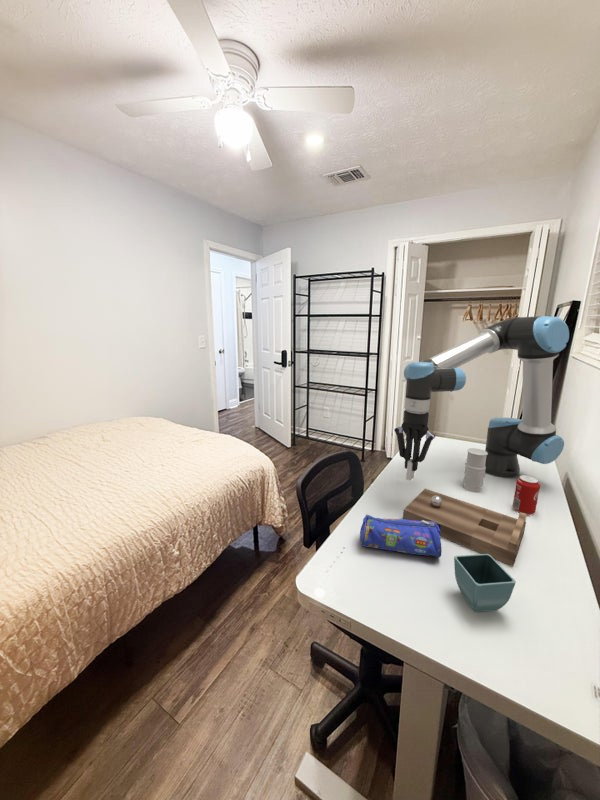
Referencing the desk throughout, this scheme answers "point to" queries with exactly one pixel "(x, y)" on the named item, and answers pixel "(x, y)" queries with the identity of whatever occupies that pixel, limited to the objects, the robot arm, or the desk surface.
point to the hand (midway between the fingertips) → (409, 478)
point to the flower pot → (483, 582)
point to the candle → (475, 469)
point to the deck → (471, 525)
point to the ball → (436, 501)
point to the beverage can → (526, 495)
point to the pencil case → (402, 535)
